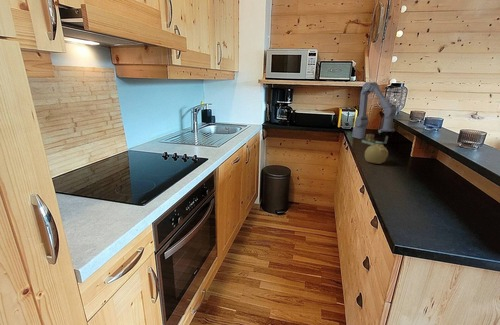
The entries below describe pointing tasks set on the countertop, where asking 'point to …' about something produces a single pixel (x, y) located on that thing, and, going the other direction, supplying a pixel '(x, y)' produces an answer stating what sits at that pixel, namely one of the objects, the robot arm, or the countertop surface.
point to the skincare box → (383, 123)
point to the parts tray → (372, 143)
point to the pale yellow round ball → (376, 154)
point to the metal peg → (386, 140)
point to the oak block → (370, 138)
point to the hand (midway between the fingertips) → (384, 141)
